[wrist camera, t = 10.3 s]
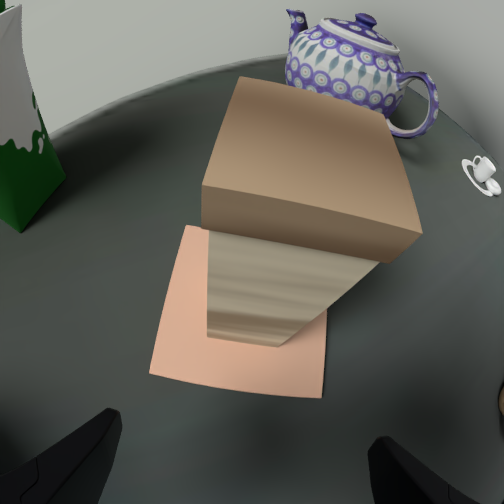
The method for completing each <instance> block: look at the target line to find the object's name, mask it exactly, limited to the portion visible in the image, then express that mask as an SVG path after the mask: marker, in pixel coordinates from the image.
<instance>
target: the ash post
mask: <svg viewBox="0 0 504 504" xmlns="http://www.w3.org/2000/svg"><path fill="white" fill-rule="evenodd" d="M201 229H205V230H209V241H208V273H207V337H209V338H214V339H220V340H226V341H233V342H239V343H246V344H253V345H260V346H268V347H276V348H277V347H278V346H279V345H281V344H282V343H283V342H285V341H286V340H287V339H289V338H290V337H291V336H293V335H294V334H295V333H296V332H298V331H299V330H300V329H302V328H303V327H304V326H305V325H307V324H308V323H309V322H311V321H312V320H313V319H314V318H316V317H317V316H318V315H319V314H320V313H322V312H323V311H324V310H325V309H327V308H328V307H329V306H330V305H331V304H333V303H334V302H335V301H336V300H337V299H339V298H340V297H341V296H342V295H343V294H344V293H346V292H347V291H348V290H349V289H350V288H351V287H353V286H354V285H355V284H356V283H357V282H358V281H359V280H361V279H362V278H363V277H364V276H365V275H366V274H367V273H368V272H370V271H371V270H372V269H373V268H374V267H375V266H376V265H377V264H378V263H379V262H383V263H388V264H390V263H391V262H392V261H393V260H394V259H396V258H397V257H398V256H399V255H400V254H401V253H402V252H403V251H404V250H406V249H407V248H408V247H409V246H410V245H411V244H412V243H413V242H414V241H415V240H416V239H417V238H418V237H420V236H421V235H422V234H423V233H422V229H421V224H420V220H419V216H418V213H417V209H416V205H415V202H414V198H413V195H412V191H411V188H410V185H409V182H408V178H407V175H406V172H405V169H404V166H403V163H402V160H401V158H400V155H399V152H398V149H397V147H396V144H395V141H394V139H393V136H392V134H391V131H390V129H389V126H388V124H387V122H386V119H385V117H384V115H383V114H381V113H378V112H376V111H373V110H370V109H368V108H365V107H362V106H359V105H356V104H353V103H350V102H347V101H344V100H341V99H337V98H334V97H331V96H327V95H324V94H320V93H316V92H313V91H309V90H305V89H301V88H297V87H293V86H288V85H284V84H279V83H274V82H269V81H264V80H259V79H253V78H247V77H241V76H240V77H239V80H238V82H237V85H236V87H235V90H234V93H233V95H232V98H231V101H230V103H229V106H228V109H227V112H226V114H225V117H224V120H223V123H222V126H221V128H220V131H219V134H218V137H217V140H216V143H215V146H214V149H213V152H212V155H211V158H210V161H209V164H208V167H207V170H206V174H205V177H204V180H203V183H202V217H201Z"/></svg>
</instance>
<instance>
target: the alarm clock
mask: <svg viewBox="0 0 504 504" xmlns="http://www.w3.org/2000/svg"><path fill="white" fill-rule="evenodd" d="M499 409H500V411H501V413H502V414H503V415H504V387H503V389H502V391H501V393H500V396H499Z"/></svg>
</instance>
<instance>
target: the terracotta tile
mask: <svg viewBox="0 0 504 504" xmlns="http://www.w3.org/2000/svg"><path fill="white" fill-rule="evenodd" d="M208 241H209V230H205V229H201V228H200V227H195V226H189V225H186V227H185V231H184V234H183V237H182V241H181V244H180V248H179V251H178V255H177V258H176V262H175V266H174V269H173V273H172V277H171V280H170V284H169V288H168V292H167V296H166V300H165V304H164V308H163V312H162V316H161V320H160V325H159V329H158V333H157V338H156V342H155V347H154V352H153V357H152V361H151V366H150V371H149V373H150V374H154V375H158V376H162V377H166V378H170V379H175V380H179V381H184V382H189V383H194V384H199V385H205V386H210V387H216V388H222V389H228V390H235V391H242V392H250V393H258V394H267V395H277V396H288V397H302V398H321V397H322V386H323V374H324V360H325V344H326V323H327V309H325V310H324V311H323V312H322V313H320V314H319V315H318V316H317V317H316V318H314V319H313V320H312V321H311V322H309V323H308V324H307V325H305V326H304V327H303V328H302V329H300V330H299V331H298V332H296V333H295V334H294V335H293V336H291V337H290V338H289V339H287V340H286V341H285V342H283V343H282V344H281V345H279V346H278V347H277V348H276V347H268V346H260V345H253V344H246V343H239V342H233V341H226V340H220V339H214V338H209V337H207V273H208Z"/></svg>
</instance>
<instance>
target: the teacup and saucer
mask: <svg viewBox="0 0 504 504" xmlns="http://www.w3.org/2000/svg"><path fill="white" fill-rule="evenodd" d="M477 157H478V158H480V162H479V164H478V165H477V166H476V165H475V164H474V161H475V159H476V158H477ZM467 165H471V166H473V171H474V176H475V178H476V179H477V180H478V181H479V182H480V183H482V182H484V181H485V185H486V187H487V189H488V190H487V191H486V190H483V189H482V188H480V187H479V186H478V185H477V184H476V183H475V182H474V180H473V179H472V178H471V176H470V175H469V173H468V171H467ZM462 166H463V169H464V171H465V173H466V174H467V176H468V177H469V179H470V180H471V181H472V183H473V184H474V185H475V186H476V187H477V188H478V189H479V190H480V191H481V192H482V193H484V194H485V195H487V196H493V194H494V195H499V194H500V193H501V188H500V186H499V184H498V183H497V182H496V181H495V180H493V179H492V178H489V177H490V176H491V175H492V174H494V172H495V171H496V169H495V167H494V165H493V164H492V163H491V161H490V160H489V159H487V158H486V157H483V158H481V157H480V156H475V158H474V160H473V162H471V161H469V160H467V159H463V160H462ZM474 168H475V169H474Z"/></svg>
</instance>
